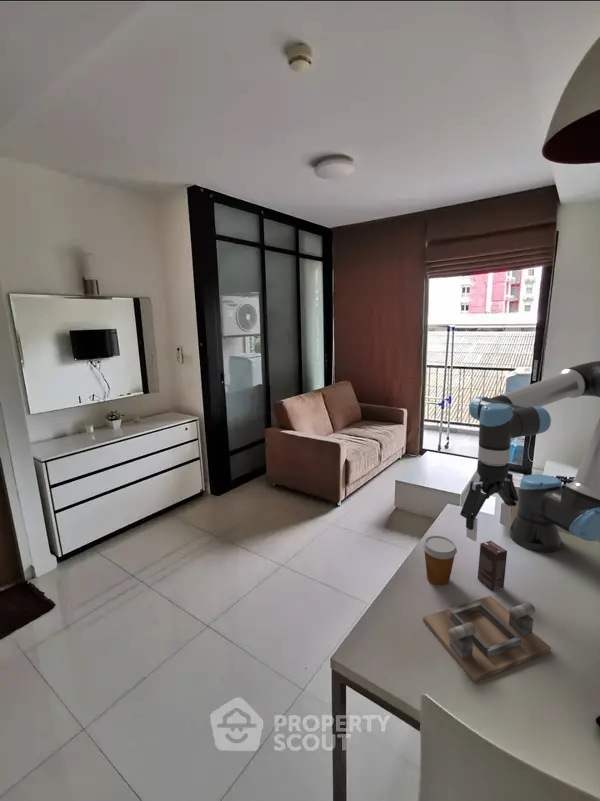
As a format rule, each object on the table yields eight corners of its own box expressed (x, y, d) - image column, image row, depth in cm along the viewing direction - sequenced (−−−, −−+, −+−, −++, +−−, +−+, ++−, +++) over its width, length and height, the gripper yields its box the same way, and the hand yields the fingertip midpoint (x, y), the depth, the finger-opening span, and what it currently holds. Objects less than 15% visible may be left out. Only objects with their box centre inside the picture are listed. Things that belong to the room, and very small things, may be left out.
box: (504, 587, 109) (508, 550, 107) (492, 592, 108) (495, 554, 105) (488, 575, 115) (490, 539, 112) (476, 578, 113) (479, 543, 111)
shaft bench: (492, 598, 105) (494, 574, 104) (553, 650, 88) (556, 623, 87) (420, 621, 98) (421, 596, 97) (471, 683, 81) (473, 654, 80)
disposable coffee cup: (457, 591, 108) (460, 554, 106) (423, 588, 110) (424, 551, 108) (451, 570, 117) (453, 535, 115) (419, 567, 119) (421, 533, 117)
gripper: (511, 448, 110) (506, 514, 115) (448, 466, 100) (445, 537, 105) (536, 456, 104) (530, 525, 108) (471, 476, 93) (467, 552, 98)
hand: (488, 531), depth 106 cm, fingers open, 13 cm apart
